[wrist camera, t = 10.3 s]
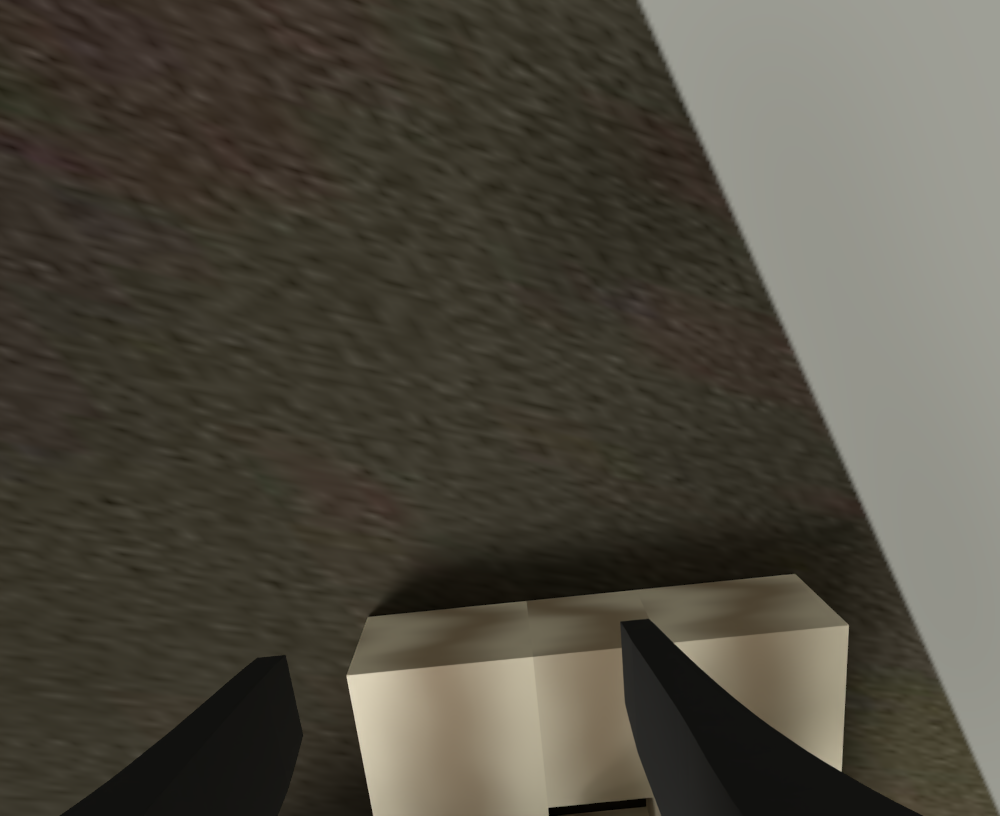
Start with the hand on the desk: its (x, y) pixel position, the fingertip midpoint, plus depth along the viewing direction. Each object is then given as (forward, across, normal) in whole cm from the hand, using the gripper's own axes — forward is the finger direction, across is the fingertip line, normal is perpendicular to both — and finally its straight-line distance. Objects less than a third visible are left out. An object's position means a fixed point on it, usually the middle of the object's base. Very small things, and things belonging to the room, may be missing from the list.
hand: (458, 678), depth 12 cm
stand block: (+10, -4, +14) cm, 18 cm away
